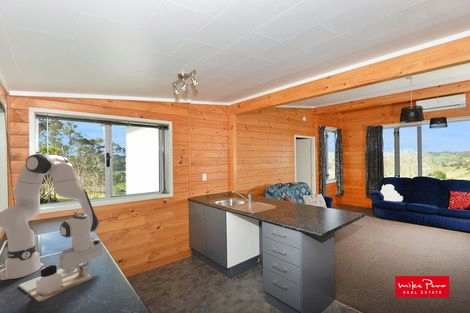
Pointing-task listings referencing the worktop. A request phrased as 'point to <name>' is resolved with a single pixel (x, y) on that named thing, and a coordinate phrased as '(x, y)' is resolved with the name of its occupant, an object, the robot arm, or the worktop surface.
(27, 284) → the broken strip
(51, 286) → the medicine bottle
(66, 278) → the birch strip
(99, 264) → the worktop surface
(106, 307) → the worktop surface
